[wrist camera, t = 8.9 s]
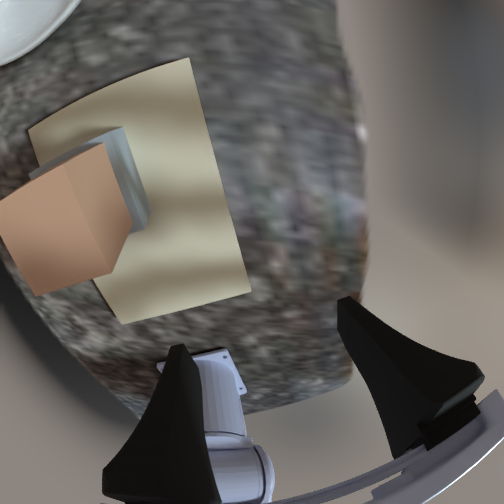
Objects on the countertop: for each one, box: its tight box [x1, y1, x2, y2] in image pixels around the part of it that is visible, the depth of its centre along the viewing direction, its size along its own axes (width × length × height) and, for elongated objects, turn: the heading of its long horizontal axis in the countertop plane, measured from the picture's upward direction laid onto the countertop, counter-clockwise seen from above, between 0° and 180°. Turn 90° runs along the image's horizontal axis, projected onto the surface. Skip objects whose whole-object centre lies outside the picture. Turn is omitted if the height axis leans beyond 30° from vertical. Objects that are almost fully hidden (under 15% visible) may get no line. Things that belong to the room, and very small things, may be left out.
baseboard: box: [28, 58, 251, 324], centre depth 17 cm, size 18×12×4 cm, turn 12°
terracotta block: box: [0, 143, 133, 296], centre depth 11 cm, size 5×5×5 cm
